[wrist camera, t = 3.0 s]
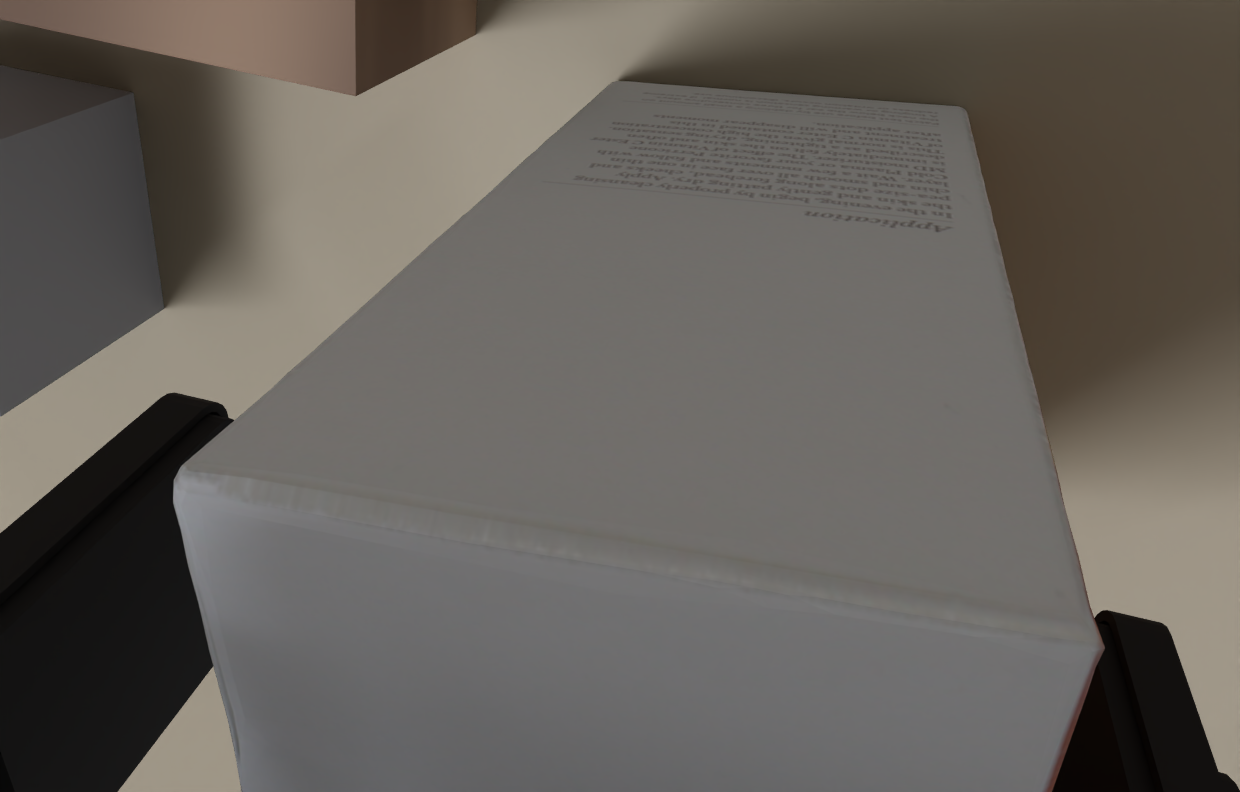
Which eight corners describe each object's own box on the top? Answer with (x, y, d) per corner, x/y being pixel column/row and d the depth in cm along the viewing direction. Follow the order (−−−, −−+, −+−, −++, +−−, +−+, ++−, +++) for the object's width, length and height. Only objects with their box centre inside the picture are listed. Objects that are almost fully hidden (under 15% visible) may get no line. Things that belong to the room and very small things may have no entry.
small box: (900, 490, 20) (897, 1260, 10) (605, 446, 22) (304, 1079, 11) (979, 94, 16) (1133, 649, 5) (608, 67, 18) (125, 475, 7)
